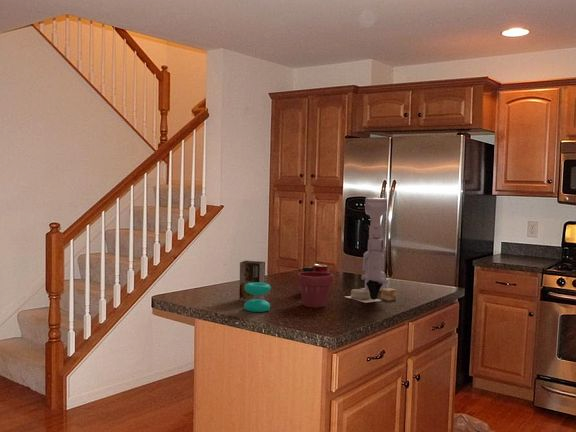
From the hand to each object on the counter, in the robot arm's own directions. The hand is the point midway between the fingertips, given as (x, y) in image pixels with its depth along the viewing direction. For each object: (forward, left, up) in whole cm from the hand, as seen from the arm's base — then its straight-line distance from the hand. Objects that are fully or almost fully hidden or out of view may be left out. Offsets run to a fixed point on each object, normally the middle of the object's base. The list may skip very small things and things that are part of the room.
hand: (373, 299), depth 243 cm
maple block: (-9, -1, -1) cm, 9 cm away
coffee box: (+45, -25, -1) cm, 51 cm away
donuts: (+52, -9, -1) cm, 53 cm away
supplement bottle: (+16, -26, -1) cm, 30 cm away
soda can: (+7, -29, -1) cm, 29 cm away
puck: (0, -9, -1) cm, 9 cm away
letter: (0, -7, -1) cm, 7 cm away
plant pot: (+27, -6, -1) cm, 28 cm away
